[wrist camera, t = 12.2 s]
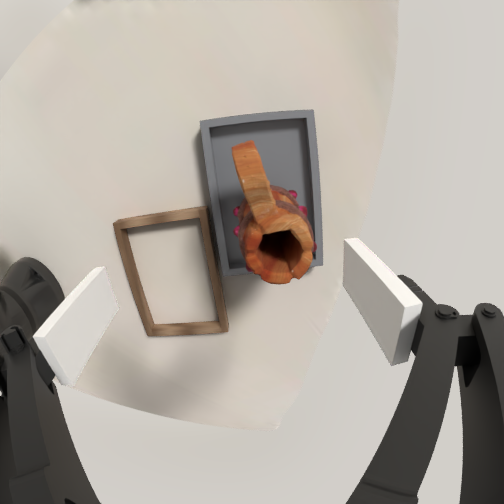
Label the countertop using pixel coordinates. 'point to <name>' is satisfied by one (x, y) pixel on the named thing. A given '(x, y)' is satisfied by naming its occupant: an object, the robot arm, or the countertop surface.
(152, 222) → the wooden picture frame
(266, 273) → the mug
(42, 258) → the countertop surface
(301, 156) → the tray
